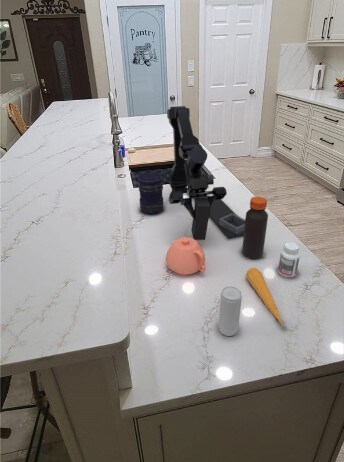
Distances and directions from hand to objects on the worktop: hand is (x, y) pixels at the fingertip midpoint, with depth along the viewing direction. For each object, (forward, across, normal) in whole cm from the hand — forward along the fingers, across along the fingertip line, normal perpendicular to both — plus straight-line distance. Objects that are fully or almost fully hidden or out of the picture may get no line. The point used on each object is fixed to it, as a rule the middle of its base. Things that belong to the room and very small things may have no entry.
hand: (201, 219), depth 108 cm
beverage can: (+33, -2, -18) cm, 37 cm away
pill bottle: (+20, +23, -5) cm, 31 cm away
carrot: (+27, +11, -12) cm, 32 cm away
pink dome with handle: (+15, -7, +1) cm, 16 cm away
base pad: (-8, +13, +23) cm, 28 cm away
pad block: (+4, -1, +6) cm, 7 cm away
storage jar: (-14, -13, +30) cm, 35 cm away
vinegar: (+13, +16, +3) cm, 21 cm away
